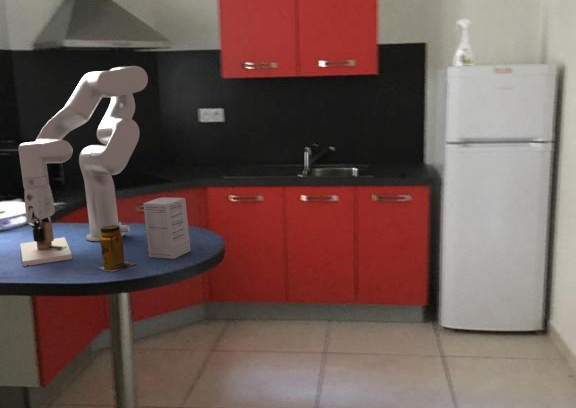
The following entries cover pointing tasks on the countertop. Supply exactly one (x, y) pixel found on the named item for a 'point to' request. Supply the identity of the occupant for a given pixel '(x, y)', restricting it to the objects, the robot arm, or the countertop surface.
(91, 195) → the robot arm
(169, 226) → the supplement box
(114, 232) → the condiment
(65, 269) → the countertop surface
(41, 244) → the brown piece
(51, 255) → the white rectangular slab
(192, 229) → the countertop surface
